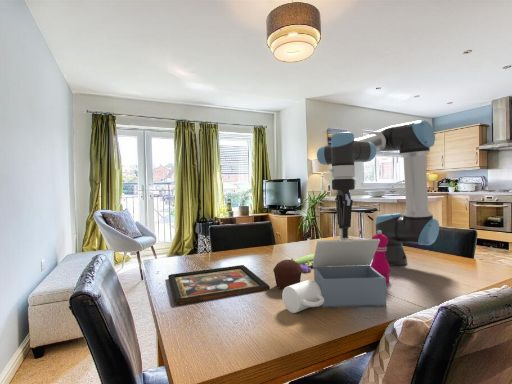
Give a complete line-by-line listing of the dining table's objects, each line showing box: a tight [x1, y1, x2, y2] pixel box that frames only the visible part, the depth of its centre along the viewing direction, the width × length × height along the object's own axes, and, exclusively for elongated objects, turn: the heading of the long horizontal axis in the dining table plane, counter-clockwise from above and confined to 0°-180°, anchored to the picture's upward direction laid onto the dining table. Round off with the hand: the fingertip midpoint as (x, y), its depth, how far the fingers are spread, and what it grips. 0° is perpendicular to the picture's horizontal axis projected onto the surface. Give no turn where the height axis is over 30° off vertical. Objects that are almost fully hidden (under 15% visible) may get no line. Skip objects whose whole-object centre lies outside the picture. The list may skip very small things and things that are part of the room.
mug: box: [281, 279, 324, 314], centre depth 91 cm, size 12×10×8 cm
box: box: [313, 265, 387, 309], centre depth 98 cm, size 20×14×9 cm
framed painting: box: [167, 264, 271, 307], centre depth 118 cm, size 38×35×3 cm
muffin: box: [272, 259, 303, 291], centre depth 112 cm, size 12×11×10 cm
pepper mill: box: [370, 230, 391, 283], centre depth 115 cm, size 7×7×20 cm
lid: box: [312, 238, 380, 268], centre depth 101 cm, size 21×14×1 cm
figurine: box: [290, 253, 315, 273], centre depth 138 cm, size 18×27×6 cm
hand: (344, 246), depth 100 cm, fingers closed
